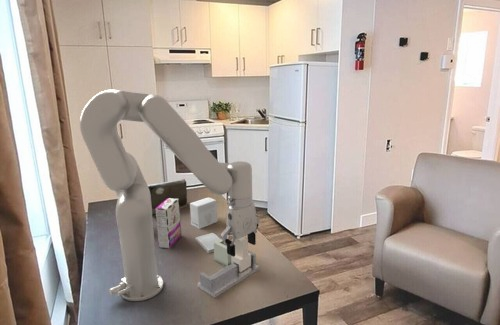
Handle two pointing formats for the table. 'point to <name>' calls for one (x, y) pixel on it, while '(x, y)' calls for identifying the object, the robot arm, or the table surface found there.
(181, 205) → the radio
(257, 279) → the table surface
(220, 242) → the hollow cube
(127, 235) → the robot arm
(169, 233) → the candy bar box
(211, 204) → the skincare box
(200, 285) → the guide rail
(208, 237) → the hard drive
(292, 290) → the table surface
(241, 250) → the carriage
